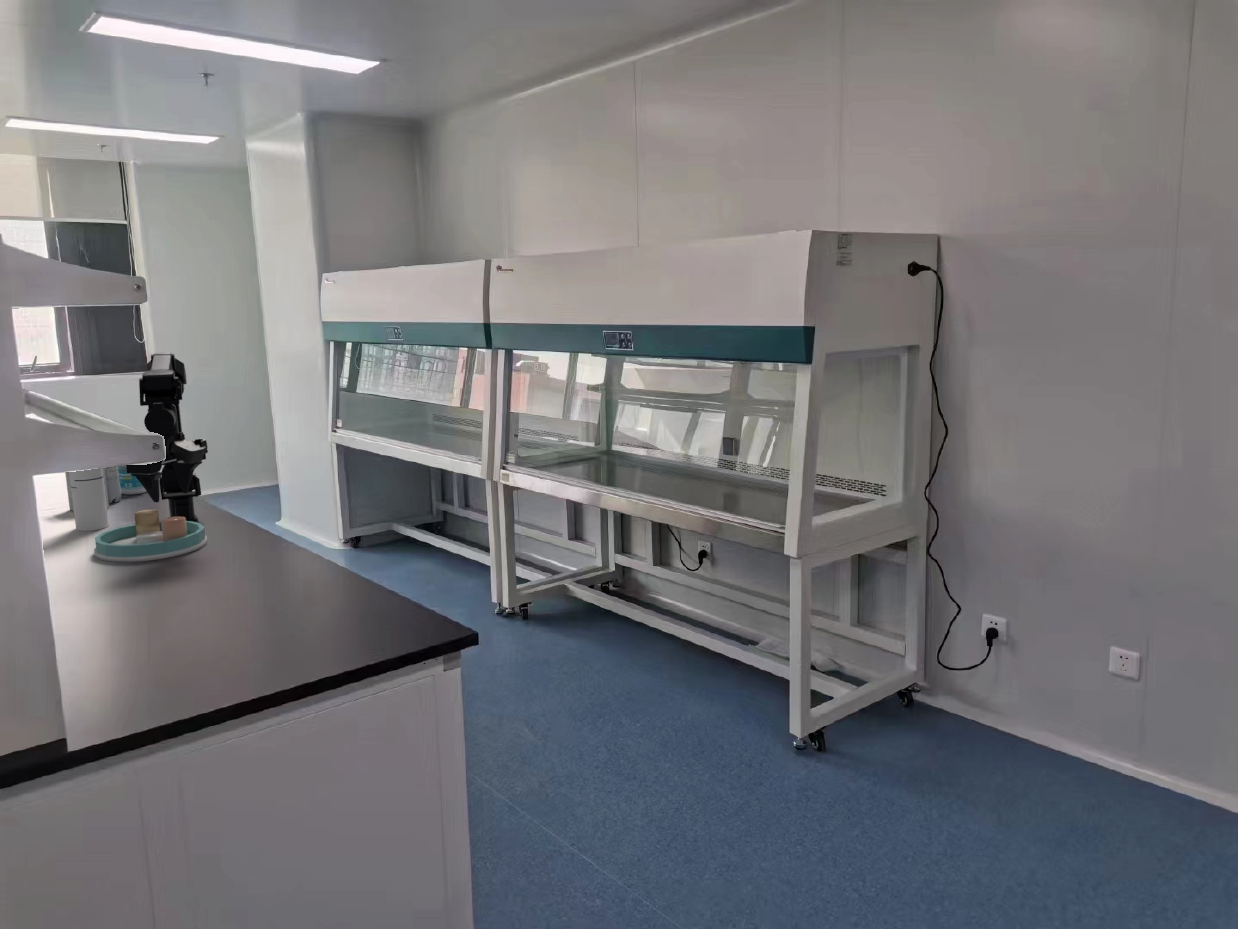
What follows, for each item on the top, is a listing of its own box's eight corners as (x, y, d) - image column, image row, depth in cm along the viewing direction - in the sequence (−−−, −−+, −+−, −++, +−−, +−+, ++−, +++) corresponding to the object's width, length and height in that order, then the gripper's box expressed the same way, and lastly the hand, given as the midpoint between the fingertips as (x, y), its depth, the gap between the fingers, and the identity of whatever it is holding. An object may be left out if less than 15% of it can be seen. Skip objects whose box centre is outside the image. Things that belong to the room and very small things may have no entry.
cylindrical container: (98, 530, 222) (86, 430, 218) (69, 531, 223) (57, 430, 218) (114, 523, 229) (103, 426, 225) (87, 523, 230) (75, 426, 225)
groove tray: (92, 543, 211) (91, 528, 210) (200, 529, 223) (198, 515, 222) (96, 568, 192) (94, 552, 191) (213, 551, 204) (212, 536, 203)
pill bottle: (114, 493, 264) (109, 448, 262) (138, 488, 271) (133, 444, 268) (131, 496, 261) (126, 450, 258) (154, 491, 267) (149, 446, 265)
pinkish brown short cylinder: (163, 543, 207) (161, 518, 206) (188, 540, 209) (185, 515, 208) (163, 548, 202) (160, 522, 201) (188, 546, 204) (185, 520, 203)
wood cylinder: (136, 536, 213) (133, 511, 212) (159, 533, 216) (157, 508, 215) (137, 541, 209) (134, 515, 208) (161, 537, 212) (159, 512, 211)
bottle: (111, 505, 250) (102, 433, 246) (90, 504, 251) (81, 433, 247) (128, 499, 256) (120, 429, 253) (108, 498, 258) (99, 429, 254)
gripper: (165, 436, 190) (172, 508, 193) (223, 424, 208) (229, 490, 211) (120, 435, 192) (128, 506, 195) (181, 422, 210) (188, 488, 213)
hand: (171, 497), depth 204 cm, fingers open, 9 cm apart
